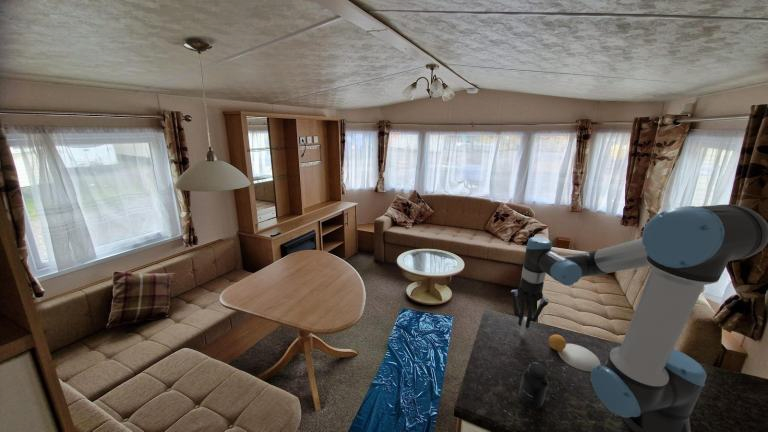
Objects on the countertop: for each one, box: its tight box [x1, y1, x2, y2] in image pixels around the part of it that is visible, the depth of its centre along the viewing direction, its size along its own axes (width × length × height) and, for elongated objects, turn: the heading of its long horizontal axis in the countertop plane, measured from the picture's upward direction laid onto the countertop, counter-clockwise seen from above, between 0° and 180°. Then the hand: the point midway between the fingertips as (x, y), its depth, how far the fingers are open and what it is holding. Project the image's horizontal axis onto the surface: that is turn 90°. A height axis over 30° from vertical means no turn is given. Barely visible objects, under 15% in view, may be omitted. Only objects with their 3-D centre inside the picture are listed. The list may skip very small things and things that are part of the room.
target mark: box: [557, 343, 601, 372], centre depth 111 cm, size 13×13×1 cm
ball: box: [548, 334, 567, 352], centre depth 114 cm, size 6×6×6 cm
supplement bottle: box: [518, 361, 549, 409], centre depth 92 cm, size 7×7×12 cm
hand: (522, 332), depth 119 cm, fingers closed
